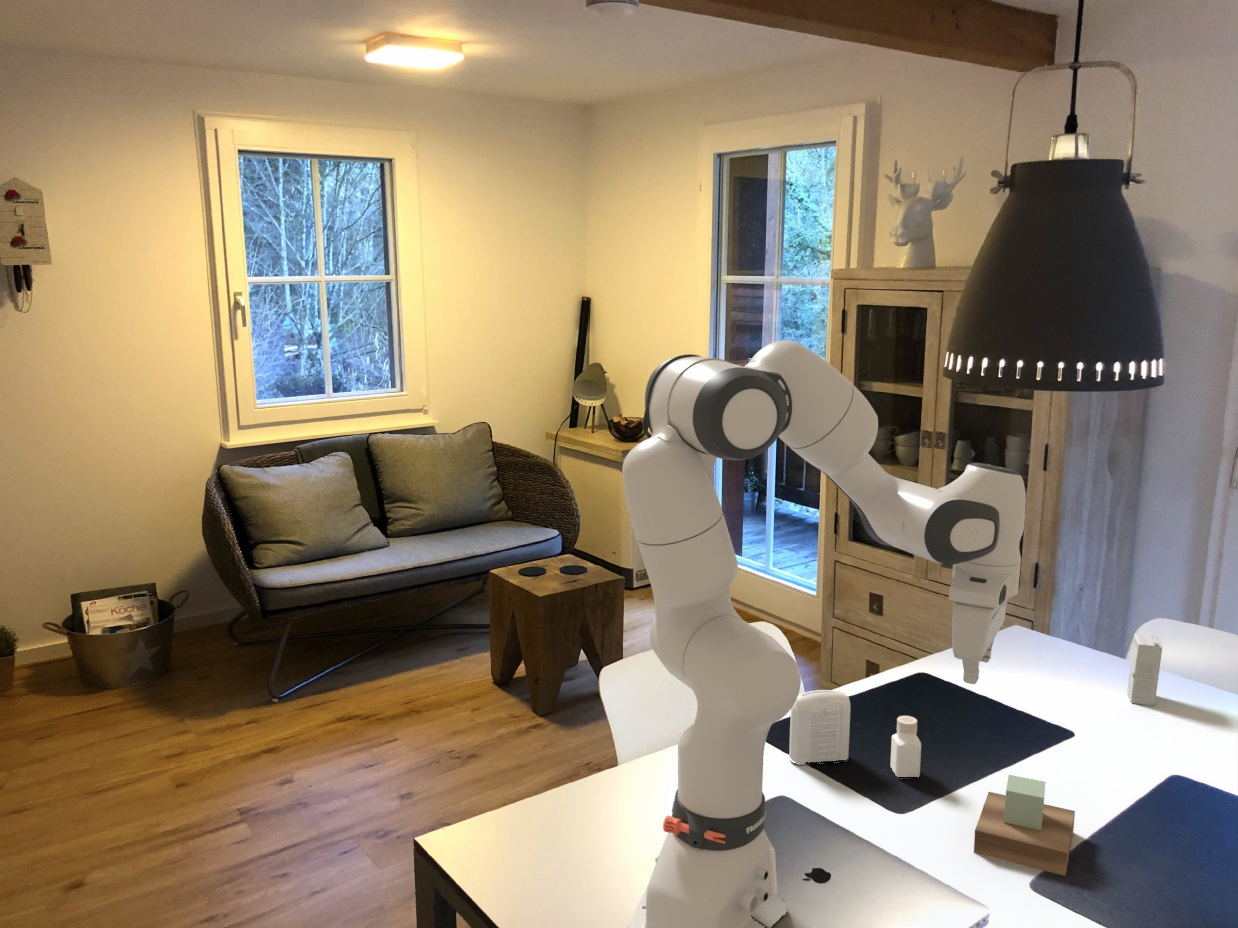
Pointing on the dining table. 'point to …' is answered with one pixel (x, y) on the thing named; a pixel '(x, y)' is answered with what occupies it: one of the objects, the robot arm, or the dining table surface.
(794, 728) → the white rounded block
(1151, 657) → the skincare box
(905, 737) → the salt shaker
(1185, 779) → the dining table surface
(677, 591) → the robot arm
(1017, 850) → the walnut block
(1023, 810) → the green cube
